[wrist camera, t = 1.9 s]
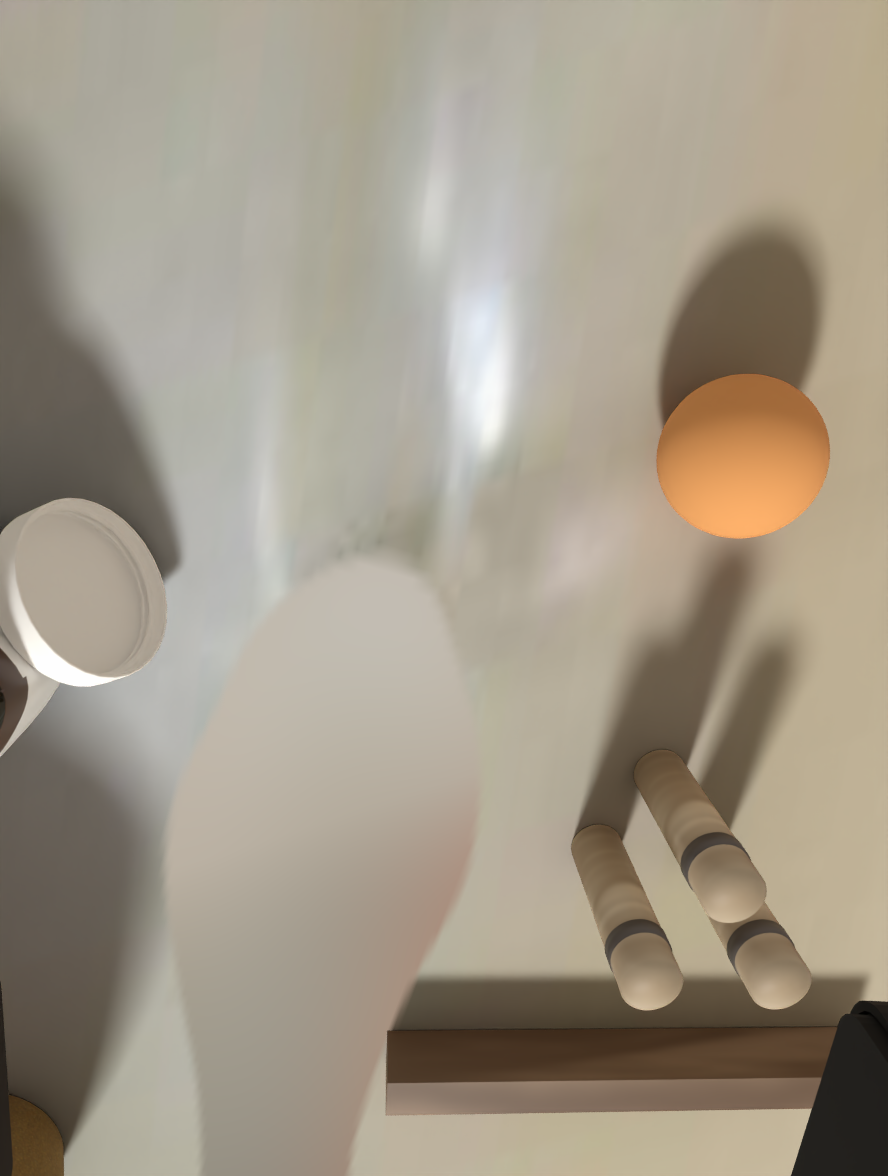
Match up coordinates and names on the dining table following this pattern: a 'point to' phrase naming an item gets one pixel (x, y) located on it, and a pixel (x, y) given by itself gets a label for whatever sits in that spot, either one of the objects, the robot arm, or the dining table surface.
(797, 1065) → the back wall
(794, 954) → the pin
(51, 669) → the spread jar
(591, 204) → the dining table surface
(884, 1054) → the robot arm
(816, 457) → the ball
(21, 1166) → the plant pot
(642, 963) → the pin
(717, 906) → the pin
